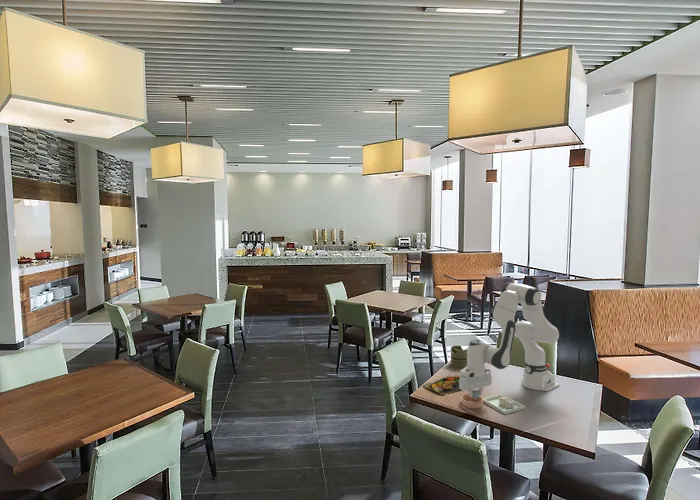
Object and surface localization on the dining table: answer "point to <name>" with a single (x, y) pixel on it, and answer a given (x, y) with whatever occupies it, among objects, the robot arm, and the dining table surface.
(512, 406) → the pebble grey
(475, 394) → the pebble slate
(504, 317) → the robot arm
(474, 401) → the bowl
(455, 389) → the prepared meal
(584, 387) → the dining table surface
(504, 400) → the pebble sand
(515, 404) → the parts tray
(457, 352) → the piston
